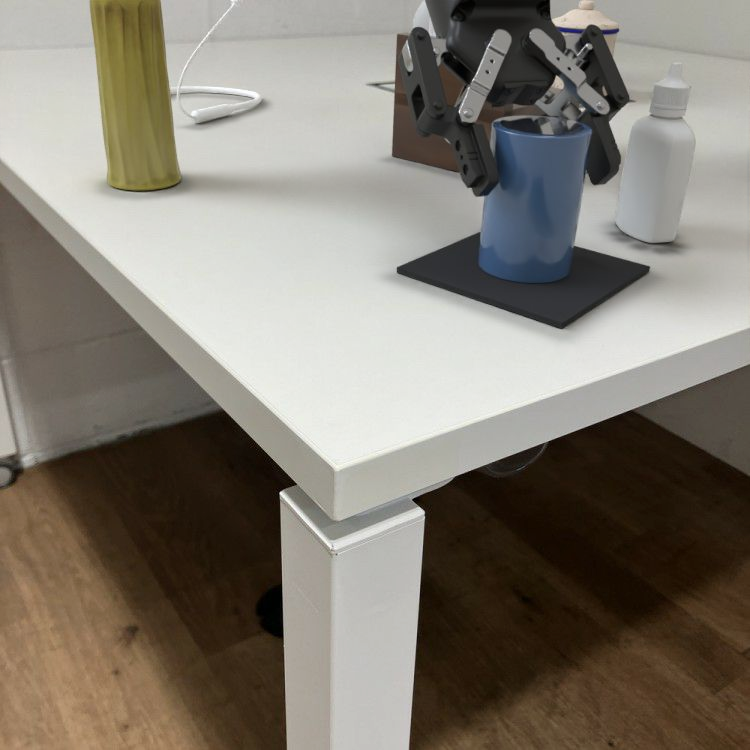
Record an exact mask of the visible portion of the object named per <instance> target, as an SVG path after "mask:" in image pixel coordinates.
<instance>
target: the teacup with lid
mask: <svg viewBox="0 0 750 750" xmlns="http://www.w3.org/2000/svg"><path fill="white" fill-rule="evenodd" d="M595 6H596V2H595V1H594V0H580V1H579V3H578V8H576V9H575V8H574V9H571V10H569V11H568V12H566V13H565V14H563V15H561V16H558V17H555V18H551V19H552V21H553V23H554V24H555V26H556V27H557V28H558V29H559V30H560V31H561V32H562V34H563V35H564V36H565V35H577V34H581V33H582V32H583V31H584V30H585V29H586V27H587V26H588V25H591V24H593V25H596V26H598V27H599V28H600V29H601V31H602V33H603V35H604V38H605V40H606V42H607V45H608V47H609V49H610V52H611V54H612V56H613V57H614V53H615V47H616V41H617V36H618V34H619V32H620V25H619V23H618V22H616V21H614V20H612V19H609V18H608V17H607V16H606V15H605V14H603V12H601V11H599V10H596V9H595ZM551 87H553V88H559V89H563V87H564V83H563V81H562V80H561V79H560V78H559V77H558V76H557V75H556V78H555V81H554V83H553V85H552V86H551ZM603 93H604V95H605V96H606V95H607V93H606V90H605V88H604V86H603Z"/></svg>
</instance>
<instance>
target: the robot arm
mask: <svg viewBox="0 0 750 750" xmlns="http://www.w3.org/2000/svg"><path fill="white" fill-rule="evenodd" d="M425 2H426V6H427V9H428V12H429V15H430V18H431V21H432V25H433V28H434V31H435V34H436V37H437V38H430V34H429V32H428V31H427V30H426V29H424V28H422V27H415V28H413V27H412V29H411V32H409V33H410V35H409V37H408V39H407V41H406V43H405V45H404V47H403V49H402V51H401V53H400V55H399V57H398V62H399V66H400V70H401V74H402V78H403V83H404V87H405V91H406V95H407V99H408V103H409V108H410V112H411V116H412V120H413V124H414V128H415V131H416V133H417V134H418V135H420V136H422V137H429V136H431V135H432V134H434V135H438V136H442V137H444V138H445V140H446V141H447V142H448V143H450V144H451V146H452V149H453V152H454V155H455V159H456V162H457V165H458V168H459V171H460V172H459V174H460V178H461V181H462V183H463V184H464V185H465V186H466V188H467V189H471V191H472V194H473V196H474V197H476V198H477V197H478V198H479V197H484V196H488V195H489V194H490V193H491V191H492V190H493V189H494V188H495V187H496V186H497V184H498V183H499V172H498V169H497V166H496V163H495V160H494V156H493V153H492V150H491V147H490V144H489V141H488V138H487V135H486V132H485V129H484V126H483V124H477V125H476V120H477V118H478V116H479V114H480V111H481V109H482V107H483V104H484V102H487V103H490V105H491V108H494V107H503V106H506V105H509V104H517V105H522V106H529V105H534V104H536V105H537V106H538V107H540V108H541V109H542V110H543V111H544V112H545V113H546V114H547V115H549V116H552V117H554V116H558V117H560V118H563V119H568V120H573V121H576V122H580V123H583V124H585V125H587V126H589V127H590V128H591V129H592V138H591V144H590V150H589V156H588V163H587V169H586V174H587V177H588V179H589V183H591V185H592V186H601V185H602V186H603V185H606V184H607V183H608V182H609V181H610V180H612V178H614V177H615V176H616V175H617V174H618V172H619V171H620V165H621V164H622V155H621V152H620V149H619V146H618V144H617V142H616V138H615V136H614V133H613V129H612V127H611V125H610V122H611V121H612V119H613V118H614V117H615V116H616V115H617V114H618V113H619V112H620V111H621V110H622V109H623V108H624V107H625V106H626V105H627V104H628V103H630V100H631V97H630V93H629V91H628V89H627V87H626V84H625V82H624V80H623V77H622V75H621V73H620V70H619V68H618V66H617V64H616V61H615V59H614V55H613V56H612V54H611V52H610V49H609V47H608V45H607V42H606V40H605V38H604V35H603V33H602V31H601V29H600V28H599V27H598V26H596V25H593V24H591V25H588V26H587V27H586V29H585V30H584V31H583V32H582V33H581V34H577V35H565V36H564V35H563V34H562V32H561V31H560V30H559V29H558V28H557V27H556V26H555V24H554V23H553V21H552V19H553V18H552V15H551V13H552V12H551V0H425ZM441 61H442V63H443V65H444V66H445V67H446V68H447V69H448V70H449V71H450V72H451V73H452V74H453V75H454V76H455V77H457V78H458V79H459V80H460V81H461V82H462V83H463V84H464V85H463V87H462V90H461V92H460V94H459V97H458V99H457V101H456V103H455V106H454V107H453V106H450V105H447V101H446V97H445V93H444V89H443V85H442V81H441V77H440V73H439V69H438V67H439V66H440V64H441ZM556 75H557V76H558V77H559V78H560V79H561V80H562V81H563V83H564V87H563V89H562V90H561V91H560V93H558V94H555V93H552V92H551V91H550V90H549V89H550V87H551V86H552V85H553V83H554V81H555V78H556ZM603 86H604V88H605V90H606V93H607V95H606V96H605V95H604V93H603ZM570 98H574V99H575V100H576V101H578V102H579V103H580V104H579V105H581V106H582V107H583V108H584V110H583V111H582V110H581V109H580V108H579V109H578V108H577V107H576V106H575V105H574V104H573V103H572V102H571V101H570Z"/></svg>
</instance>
